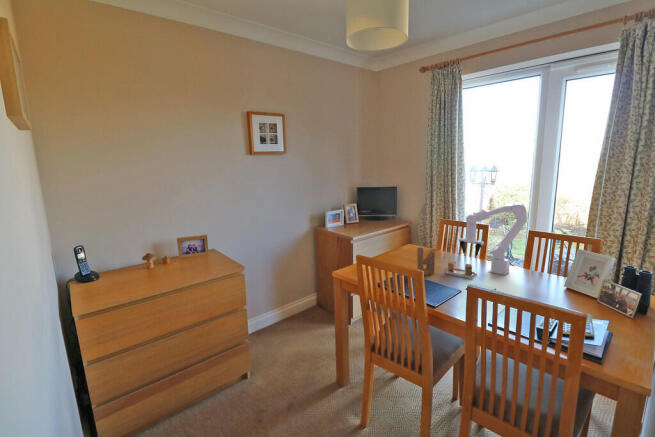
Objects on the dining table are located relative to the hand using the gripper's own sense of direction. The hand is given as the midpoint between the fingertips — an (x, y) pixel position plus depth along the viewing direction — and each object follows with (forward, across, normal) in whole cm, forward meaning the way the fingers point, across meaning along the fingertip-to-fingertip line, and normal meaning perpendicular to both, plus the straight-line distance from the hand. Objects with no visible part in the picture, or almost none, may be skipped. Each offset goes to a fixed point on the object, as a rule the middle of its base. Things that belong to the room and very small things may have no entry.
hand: (470, 254), depth 194 cm
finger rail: (+9, 0, +13) cm, 16 cm away
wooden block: (+10, +17, +26) cm, 33 cm away
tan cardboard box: (+8, -4, +12) cm, 16 cm away
